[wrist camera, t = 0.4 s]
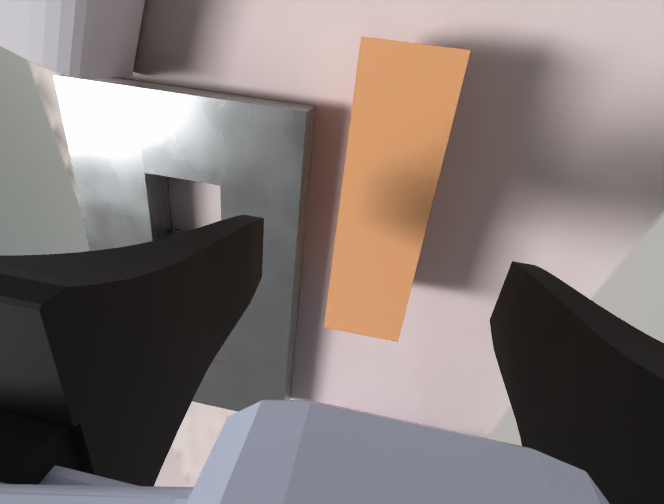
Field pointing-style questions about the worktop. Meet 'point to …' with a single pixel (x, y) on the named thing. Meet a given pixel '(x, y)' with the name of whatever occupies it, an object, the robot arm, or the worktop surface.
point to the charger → (74, 35)
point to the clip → (390, 179)
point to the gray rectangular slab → (208, 167)
